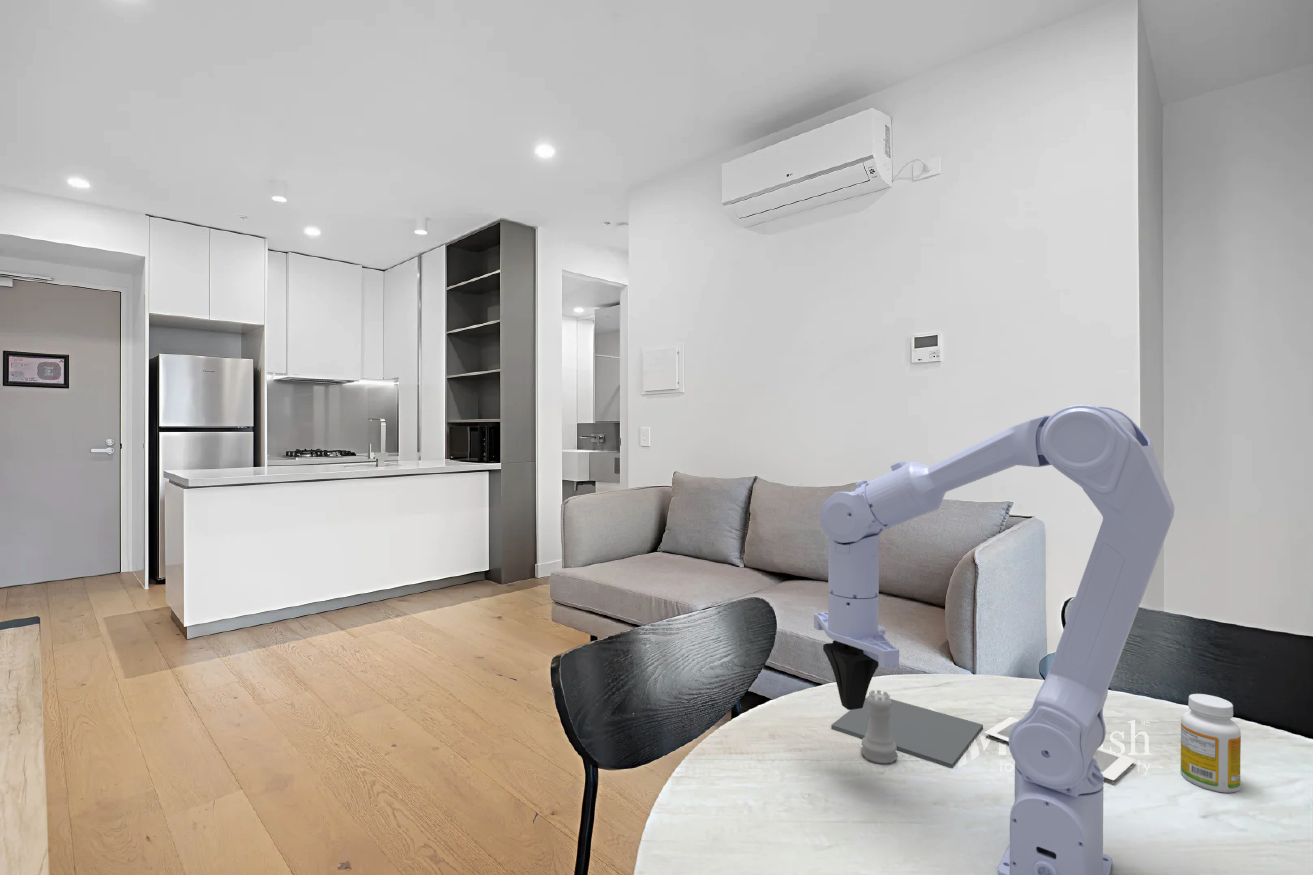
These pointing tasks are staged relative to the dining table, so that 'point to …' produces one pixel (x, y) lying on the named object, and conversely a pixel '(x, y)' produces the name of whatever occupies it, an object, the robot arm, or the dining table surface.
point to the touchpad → (1105, 759)
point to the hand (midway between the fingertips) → (852, 706)
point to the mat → (918, 731)
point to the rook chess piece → (879, 730)
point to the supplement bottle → (1210, 744)
